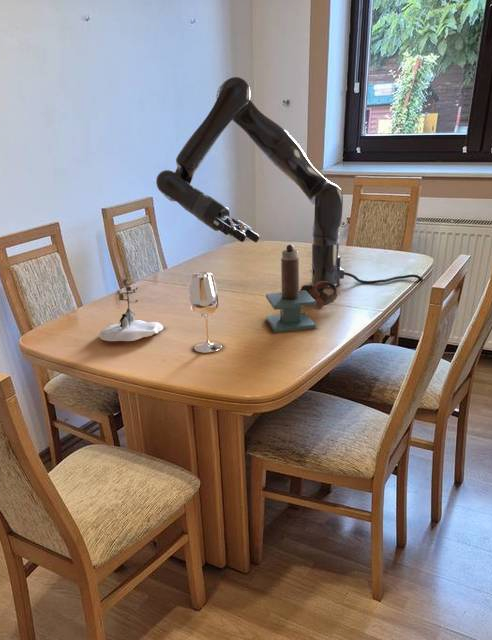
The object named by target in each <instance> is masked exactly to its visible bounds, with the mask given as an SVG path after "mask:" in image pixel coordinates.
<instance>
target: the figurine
mask: <svg viewBox="0 0 492 640" xmlns="http://www.w3.org/2000/svg"><path fill="white" fill-rule="evenodd" d="M121 282H122V286H124V288H125V291H126V292H121V290H116V292H117V293H116V295H118V300H119V301H126V302H127V309H126V311H125V313H123V314H121V317H120V319H119V323H113V324H111V325H108V326H107V327H106V328H104V329H103V330H101V331H100V332H99V333H98V336H99V339H100V340H101V341H106V342H134V341H138V340H140V339H142V338H147V337H151V336H153V335H155V334H159V332H161V331H163V330H164V326H163V325H162V324H161V323H159V322H158V321H144V320H140V319H135V317H134V316H136V314H134V312H132V311H131V309H130V304H134V305H135V304H136V303H139V300H138V299H135V301H134V302H133V301H131V300H130V298H129V295H132V294H135V293H136V291H137V290H138V288H139V287H138V286H137V287H135V288H133V289H132V287H131V286H130V284H131V280H128V279H127V278H126V277H125V278H122V280H121ZM125 297H127V299H126V298H125Z"/></svg>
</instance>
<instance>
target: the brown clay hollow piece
mask: <svg viewBox="0 0 492 640" xmlns="http://www.w3.org/2000/svg"><path fill="white" fill-rule="evenodd" d="M328 286H330V288H331V290H333V293H331V294H328V293H326V292H324V290H325V289H327V288H326V287H328ZM301 290H306V291H307V292H308V294H309V295H310V296H311V297H312V298H313V299H314V300H315V301H316V305H315V307H316V308H318V309H322V308H323V307H325V306H328V305H330V304H332V303H334V302H335V301H336V300H337V298H338V289H337V286H335V285H334V284H333V283H331V282H328V281H319V282H317V283H316V284H315V285H314V286H312V285H309V284H304V285H302V286H301V287H300V288H299V291H301Z"/></svg>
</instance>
